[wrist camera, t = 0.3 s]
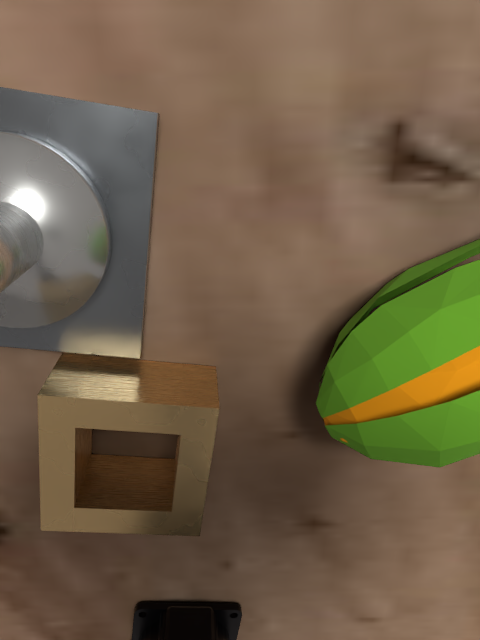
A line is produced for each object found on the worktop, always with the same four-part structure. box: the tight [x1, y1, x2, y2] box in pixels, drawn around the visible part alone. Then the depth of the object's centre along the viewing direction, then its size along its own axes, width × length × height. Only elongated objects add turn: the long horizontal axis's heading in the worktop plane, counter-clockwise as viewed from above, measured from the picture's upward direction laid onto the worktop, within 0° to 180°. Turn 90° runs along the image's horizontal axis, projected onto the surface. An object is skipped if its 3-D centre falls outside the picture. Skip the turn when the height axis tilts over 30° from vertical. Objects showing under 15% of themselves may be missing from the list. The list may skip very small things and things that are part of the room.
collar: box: [38, 353, 219, 536], centre depth 20 cm, size 7×7×4 cm
